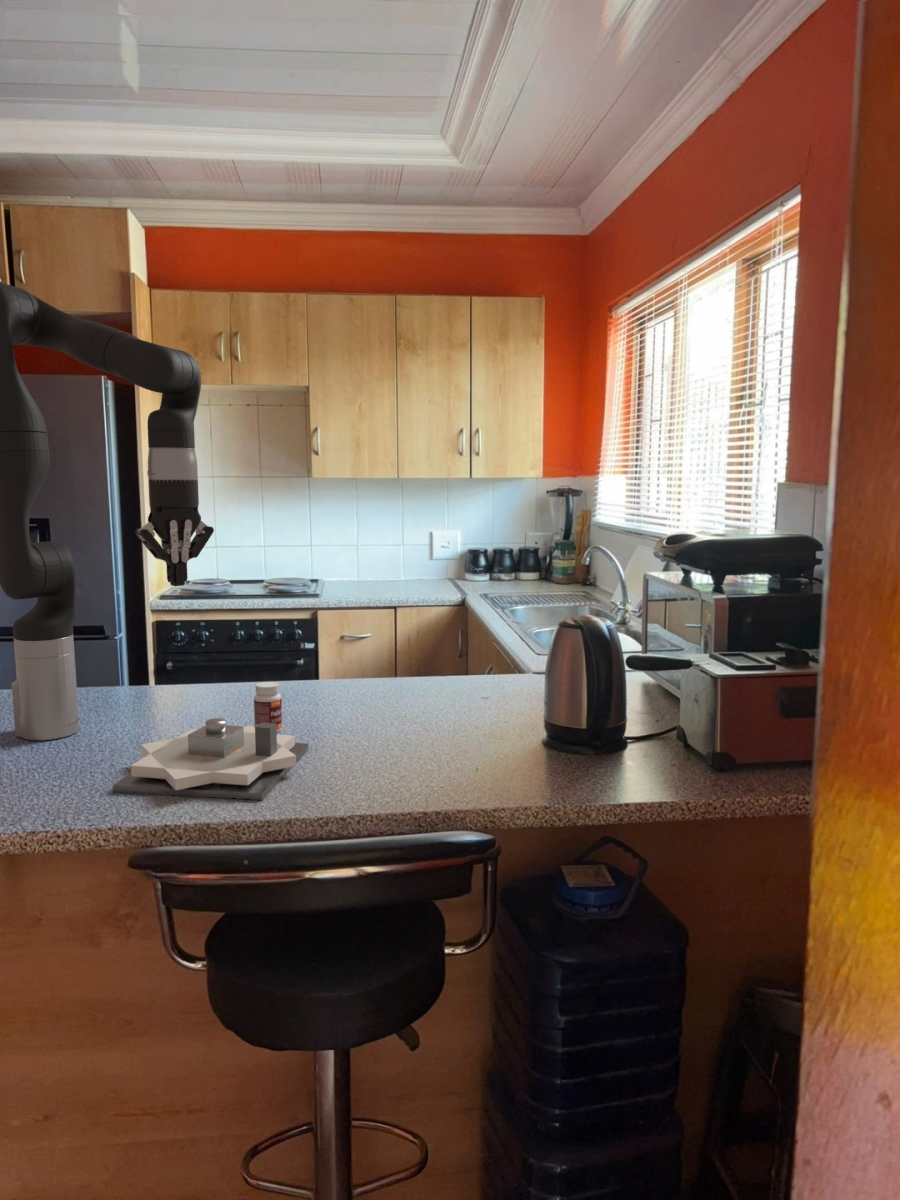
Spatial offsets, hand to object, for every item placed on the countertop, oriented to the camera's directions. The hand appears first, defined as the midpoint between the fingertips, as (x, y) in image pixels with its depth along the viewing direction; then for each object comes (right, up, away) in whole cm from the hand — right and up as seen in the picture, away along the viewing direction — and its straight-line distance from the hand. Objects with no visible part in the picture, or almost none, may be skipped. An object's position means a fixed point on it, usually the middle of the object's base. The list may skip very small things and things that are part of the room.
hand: (177, 585), depth 135 cm
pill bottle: (+12, -26, +12) cm, 31 cm away
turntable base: (+9, -28, -7) cm, 30 cm away
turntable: (+9, -27, -7) cm, 29 cm away
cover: (+8, -25, -7) cm, 28 cm away
